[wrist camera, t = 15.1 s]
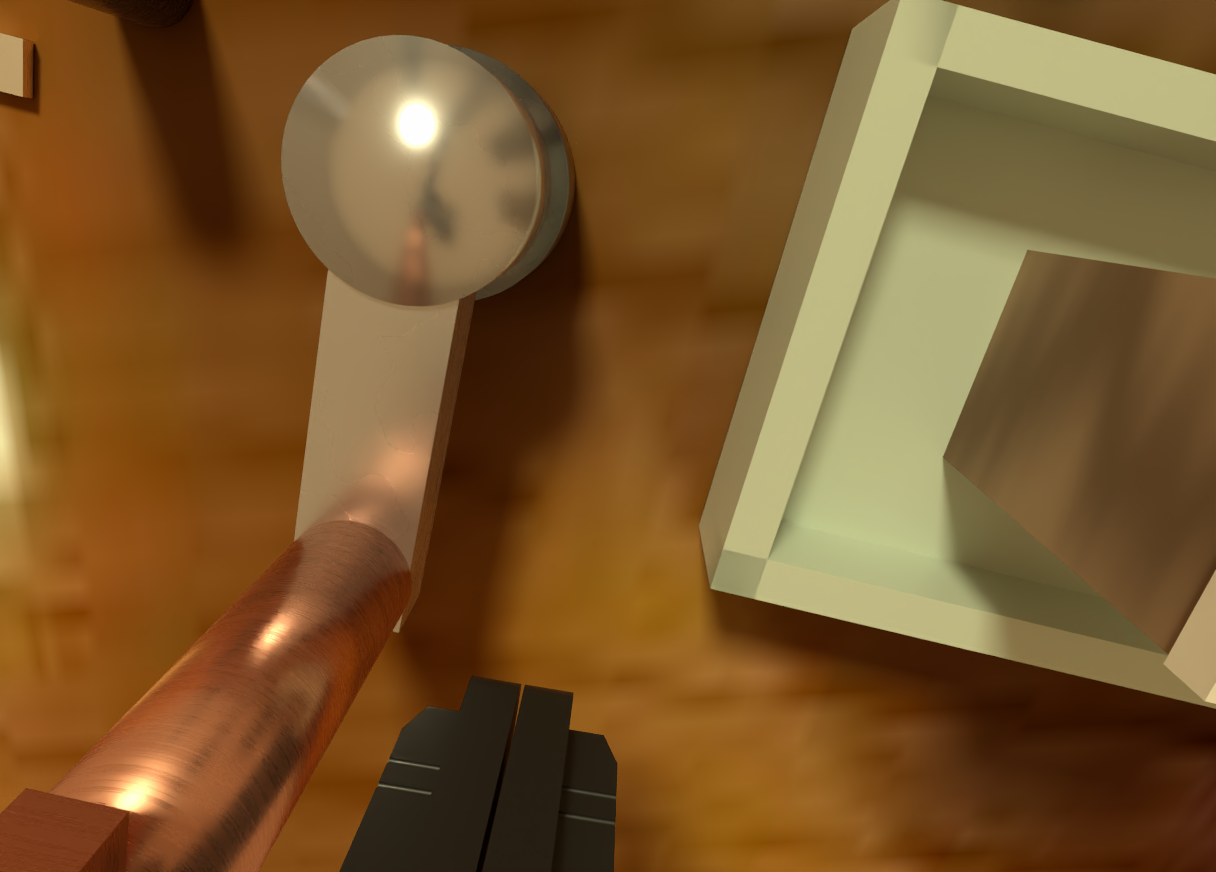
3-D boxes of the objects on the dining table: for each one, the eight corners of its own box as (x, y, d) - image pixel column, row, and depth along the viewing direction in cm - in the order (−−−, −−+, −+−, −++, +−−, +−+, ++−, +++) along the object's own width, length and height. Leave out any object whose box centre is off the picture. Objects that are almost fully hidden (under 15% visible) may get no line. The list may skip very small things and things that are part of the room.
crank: (349, 33, 15) (-460, -409, 4) (572, 91, 15) (398, -176, 4) (282, 582, 18) (-222, 1139, 8) (461, 624, 18) (215, 1227, 8)
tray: (852, 28, 16) (903, -10, 13) (1502, 202, 17) (1700, 205, 14) (699, 526, 20) (709, 588, 17) (1236, 655, 21) (1344, 739, 17)
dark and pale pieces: (-133, -151, 16) (-461, -296, 11) (608, 44, 17) (596, -14, 12) (-118, 146, 18) (-393, 130, 13) (549, 313, 18) (518, 355, 14)
